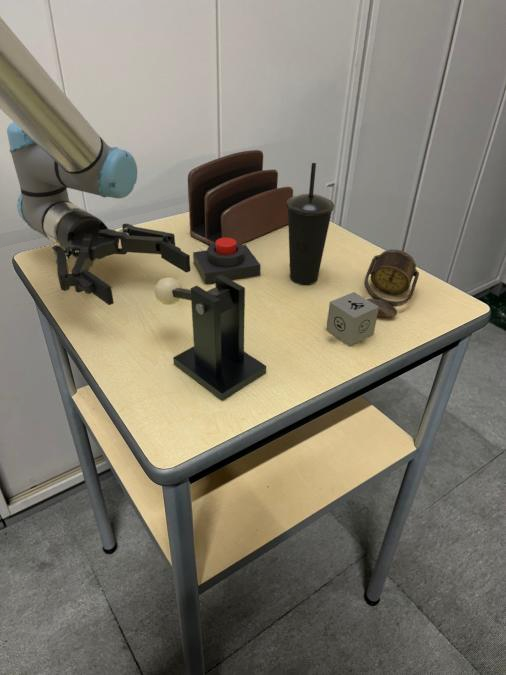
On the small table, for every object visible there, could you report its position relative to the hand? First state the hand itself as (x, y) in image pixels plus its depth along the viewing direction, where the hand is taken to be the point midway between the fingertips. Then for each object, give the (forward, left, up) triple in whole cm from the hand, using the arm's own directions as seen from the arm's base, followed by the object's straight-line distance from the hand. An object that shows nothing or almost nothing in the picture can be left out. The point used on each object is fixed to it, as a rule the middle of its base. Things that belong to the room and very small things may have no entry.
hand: (151, 279), depth 75 cm
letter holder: (+23, +27, -7) cm, 36 cm away
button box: (+15, +12, -7) cm, 21 cm away
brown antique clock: (+37, -5, -7) cm, 38 cm away
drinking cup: (+27, +5, -7) cm, 29 cm away
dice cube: (+27, -12, -7) cm, 30 cm away
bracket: (+6, -14, -7) cm, 17 cm away
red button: (+15, +12, -4) cm, 20 cm away
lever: (+4, -9, 0) cm, 10 cm away
